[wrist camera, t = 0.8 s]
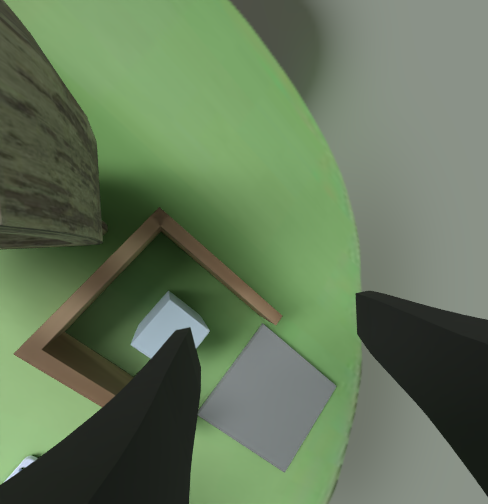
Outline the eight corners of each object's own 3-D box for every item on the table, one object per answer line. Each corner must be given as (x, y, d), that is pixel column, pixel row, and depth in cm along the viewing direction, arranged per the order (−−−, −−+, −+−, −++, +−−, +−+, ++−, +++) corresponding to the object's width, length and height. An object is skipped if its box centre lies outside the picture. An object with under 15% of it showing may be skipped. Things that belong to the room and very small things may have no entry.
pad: (282, 469, 29) (284, 472, 29) (196, 412, 26) (197, 415, 26) (334, 384, 32) (336, 386, 32) (262, 323, 29) (264, 324, 28)
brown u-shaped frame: (179, 421, 25) (182, 455, 21) (42, 335, 22) (13, 354, 17) (264, 307, 29) (282, 315, 25) (159, 215, 25) (159, 207, 21)
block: (172, 348, 25) (174, 375, 20) (138, 324, 24) (130, 344, 19) (200, 315, 26) (209, 331, 21) (168, 290, 25) (169, 299, 20)
